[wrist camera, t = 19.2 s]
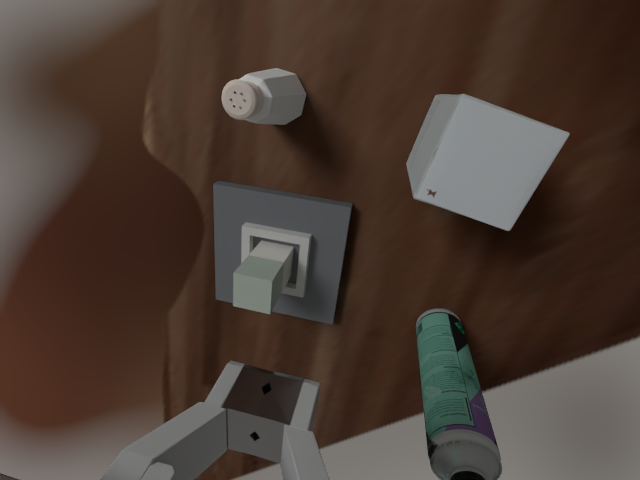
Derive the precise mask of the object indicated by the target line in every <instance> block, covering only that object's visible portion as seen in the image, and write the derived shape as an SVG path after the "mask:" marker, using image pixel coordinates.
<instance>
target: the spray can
mask: <svg viewBox="0 0 640 480" xmlns="http://www.w3.org/2000/svg"><path fill="white" fill-rule="evenodd" d="M416 333H417V344H418V354H419V365H420V375H421V386H422V396H423V406H424V417H425V427H426V437H427V447H428V456H429V460H430V464H431V468H432V471H433V472H434V474H435V475H436V476H437V477H438V478H439V479H441V480H497V479H498V478H499V477H500V475H501V472H502V465H501V462H500V460H501V459H500V453H499V450H498V446H497V443H496V439H495V436H494V432H493V429H492V425H491V422H490V419H489V415H488V412H487V408H486V405H485V401H484V398H483V395H482V391H481V388H480V384H479V381H478V377H477V374H476V371H475V367H474V364H473V360H472V357H471V353H470V350H469V347H468V343H467V340H466V336H465V333H464V330H463V326H462V323H461V321H460V319H459V317H458V316H457V315H456V314H455V313H453V312H451V311H449V310H446V309H431V310H428V311H426V312H424V313H423V314H422V315H421V316H420V317H419V318H418V320H417V323H416Z"/></svg>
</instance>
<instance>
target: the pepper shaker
mask: <svg viewBox="0 0 640 480" xmlns="http://www.w3.org/2000/svg"><path fill="white" fill-rule="evenodd" d="M305 98H306V92H305V90H304V88H303V86H302V84H301V82H300V80H299V79H298V77H297V75H296V74H294V73H291V72H288V71H285V70H281V69H278V68H274V69H269V70H264V71H259V72H254V73H249V74H246V75H245V76H243V77H242V78H241V79H239V80H232V81H230V82H229V83H227V84H226V86H225V87H224V89H223V91H222V104H223V107H224V109H225V110H226V112H227V113H228V114H229V115H230V116H231V117H233V118H235V119H238V120H247V121H250V122H253V123H258V124H276V125H286V124H287V123H289V122H291V121H292V120H294V119H296V118H297V117H299V116H301V115H302V111H303V106H304V102H305Z"/></svg>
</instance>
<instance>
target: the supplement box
mask: <svg viewBox="0 0 640 480" xmlns="http://www.w3.org/2000/svg"><path fill="white" fill-rule="evenodd" d="M569 135H570V133H568V132H566V131H563V130H560V129H558V128H555V127H552V126H550V125H547V124H544V123H542V122H539V121H536V120H534V119H531V118H528V117H526V116H523V115H520V114H517V113H515V112H512V111H509V110H507V109H504V108H501V107H498V106H496V105H493V104H490V103H488V102H485V101H482V100H480V99H477V98H474V97H471V96H469V95H466V94H460V95H450V94H441V95H435V97H434V99H433V102H432V104H431V106H430V108H429V111H428V113H427V115H426V118H425V120H424V122H423V125H422V127H421V129H420V132H419V134H418V136H417V139H416V141H415V144H414V146H413V148H412V151H411V153H410V156H409V158H408V161H407V163H406V165H407V169H408V174H409V179H410V183H411V188H412V193H413V197H414V199H416V200H419V201H422V202H425V203H428V204H431V205H434V206H437V207H440V208H443V209H446V210H449V211H452V212H455V213H458V214H461V215H464V216H467V217H470V218H472V219H475V220H478V221H481V222H484V223H486V224H489V225H492V226H495V227H498V228H501V229H503V230H506V231H510V230H511V228H512V227H513V225H514V224H515V222H516V220H517V219H518V217H519V216H520V214H521V212H522V211H523V209H524V208H525V206H526V204H527V203H528V201H529V200H530V198H531V196H532V195H533V193H534V191H535V190H536V188H537V187H538V185H539V183H540V182H541V180H542V179H543V177H544V175H545V174H546V172H547V170H548V169H549V167H550V166H551V164H552V162H553V161H554V159H555V157H556V156H557V154H558V153H559V151H560V149H561V148H562V146H563V144H564V143H565V141H566V140H567V138H568V137H569Z"/></svg>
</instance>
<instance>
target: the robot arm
mask: <svg viewBox="0 0 640 480" xmlns="http://www.w3.org/2000/svg"><path fill="white" fill-rule="evenodd" d="M319 390H320V383H319V382H315V381H311V380H307V379H304V378H300V377H295V376H291V375H287V374H282V373H278V372H272V371H268V370H264V369H261V368H257V367H254V366H250V365H246V364H242V363H238V362H235V361H230V362H229V363H228V364H227V365H226V367H225V368H224V370H223V372H222V373H221V375H220V377H219V379H218V380H217V382H216V384H215V385H214V387H213V389H212V390H211V392H210V394H209V396H208V397H207V399H206V401H205V402H204V403H203V402H199V403H197V404H195V405H194V406H192V407H191V408H189V409H187V410H186V411H184V412H182V413H181V414H179V415H178V416H176V417H174V418H173V419H171V420H169V421H168V422H166V423H165V424H163V425H161V426H160V427H158V428H157V429H155V430H153V431H152V432H150V433H148V434H147V435H145V436H143V437H142V438H140V439H139V440H137V441H135V442H134V443H132V444H131V445H129V446H127V447H126V448H124V449H122V451H121V452H120V454H119V455H118V456H117V458H116V459H115V460H114V462H113V463H112V464H111V466H110V467H109V468H108V470H107V471H106V473H105V474H104V475H103V477H102V478H101V479H100V480H194V479H195V478H197V477H198V476H199V475H200V474H201V473H202V472H203V471H204V470H206V469H207V468H208V467H209V466H210V465H211V464H212V463H213V462H215V461H216V460H217V459H218V458H219V457H220V456H221V455H222V454H224V453H225V452H226V451H227V449H231V450H235V451H239V452H243V453H247V454H251V455H255V456H258V457H261V458H265V459H268V460H271V461H274V462H277V463H281V470H282V475H283V480H329V477H328V474H327V472H326V469H325V465H324V463H323V460H322V457H321V454H320V451H319V448H318V445H317V442H316V439H315V436H314V433H313V432H312V428H313V424H314V418H315V413H316V408H317V402H318V396H319ZM0 480H19V479H16V478H13V477H10V476H7V475H4V474H0Z"/></svg>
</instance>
